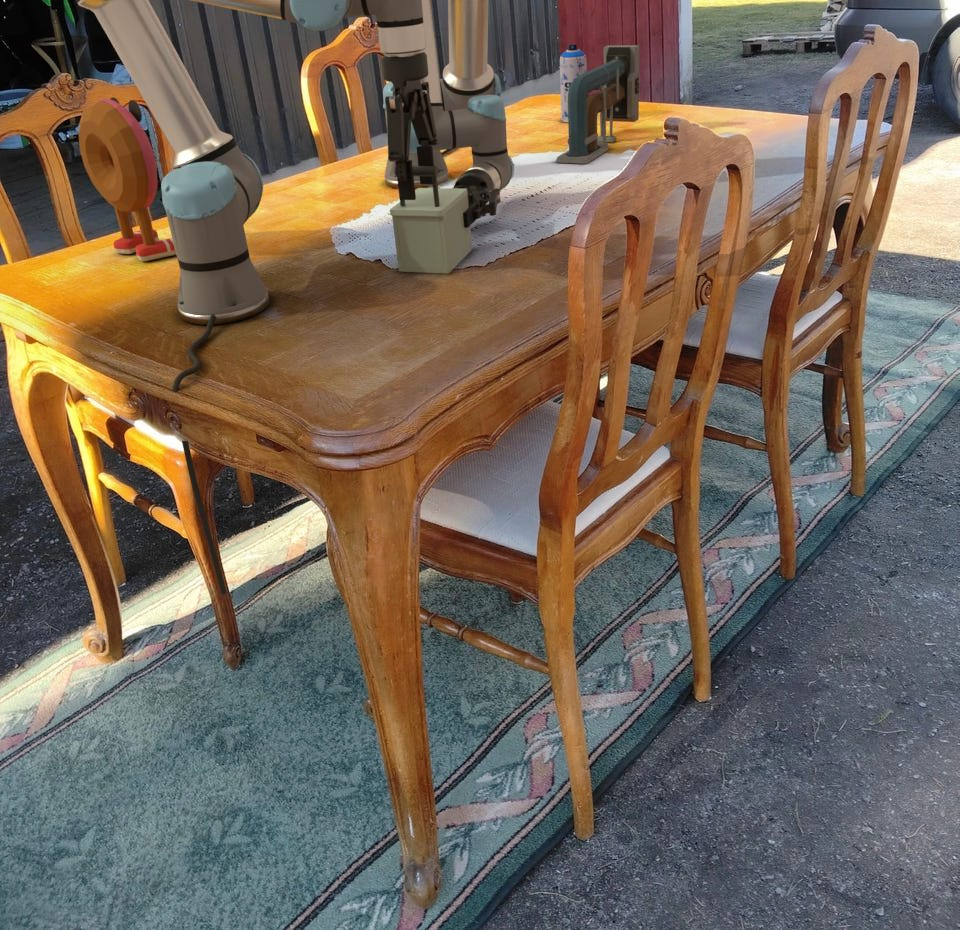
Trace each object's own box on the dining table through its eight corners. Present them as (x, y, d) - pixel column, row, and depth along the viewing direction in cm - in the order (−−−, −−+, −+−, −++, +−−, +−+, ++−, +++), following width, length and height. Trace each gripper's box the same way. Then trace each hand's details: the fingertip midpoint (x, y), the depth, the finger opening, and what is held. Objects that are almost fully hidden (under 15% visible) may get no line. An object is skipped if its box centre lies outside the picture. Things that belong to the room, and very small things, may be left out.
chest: (448, 273, 173) (443, 216, 168) (398, 271, 176) (391, 214, 171) (472, 249, 184) (467, 194, 178) (424, 248, 187) (418, 194, 181)
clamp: (586, 163, 233) (584, 69, 222) (553, 162, 237) (550, 69, 226) (638, 131, 258) (639, 45, 248) (607, 130, 262) (607, 45, 251)
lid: (442, 216, 167) (437, 169, 163) (390, 215, 170) (384, 169, 166) (467, 194, 178) (464, 150, 174) (418, 193, 181) (414, 150, 177)
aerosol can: (559, 122, 275) (557, 47, 265) (562, 117, 282) (559, 42, 272) (587, 121, 274) (585, 45, 263) (589, 115, 280) (587, 41, 270)
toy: (199, 253, 194) (163, 96, 179) (154, 268, 188) (113, 106, 173) (144, 236, 207) (106, 89, 192) (101, 250, 201) (58, 98, 186)
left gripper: (407, 43, 167) (420, 174, 179) (354, 65, 150) (373, 209, 161) (447, 42, 165) (459, 175, 176) (399, 63, 147) (415, 210, 159)
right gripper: (530, 206, 196) (497, 241, 178) (427, 204, 202) (386, 237, 185) (528, 168, 192) (494, 200, 174) (424, 167, 199) (381, 198, 181)
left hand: (418, 191), depth 169 cm, fingers open, 9 cm apart
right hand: (438, 219), depth 179 cm, fingers closed on chest, 10 cm apart
